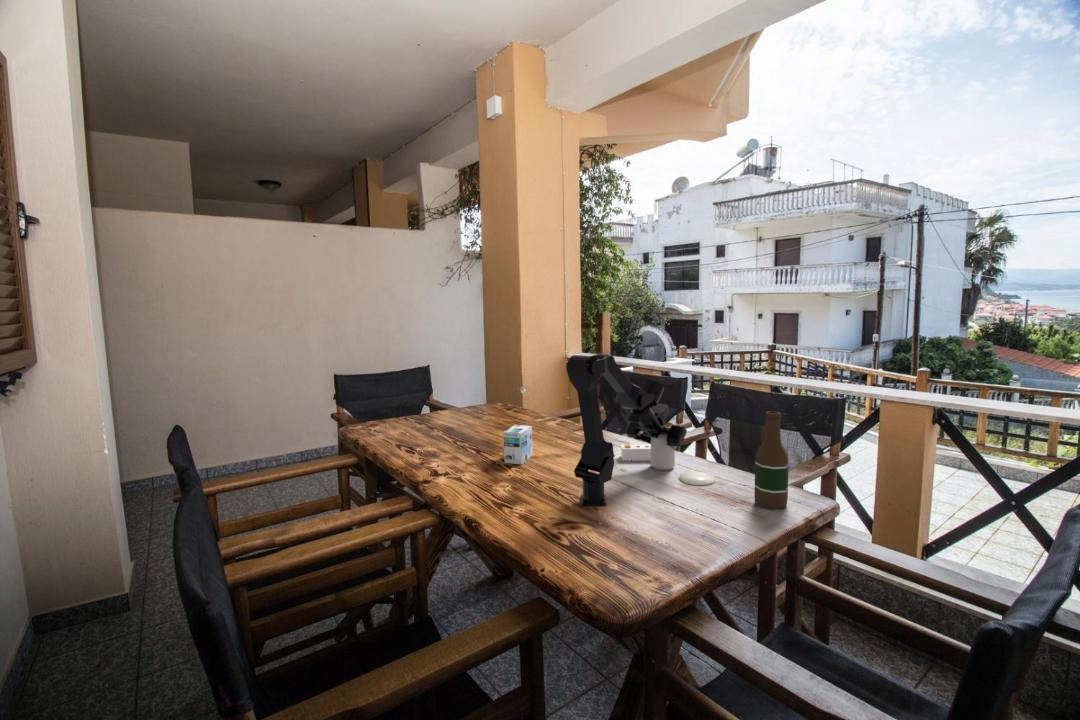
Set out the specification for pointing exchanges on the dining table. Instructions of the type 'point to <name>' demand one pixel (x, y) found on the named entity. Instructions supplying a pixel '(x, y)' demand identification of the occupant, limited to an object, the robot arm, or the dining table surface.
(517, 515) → the dining table surface
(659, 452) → the can
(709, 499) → the dining table surface
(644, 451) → the power strip
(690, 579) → the dining table surface
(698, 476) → the coaster
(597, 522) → the dining table surface
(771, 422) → the beer bottle
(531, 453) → the light bulb box
